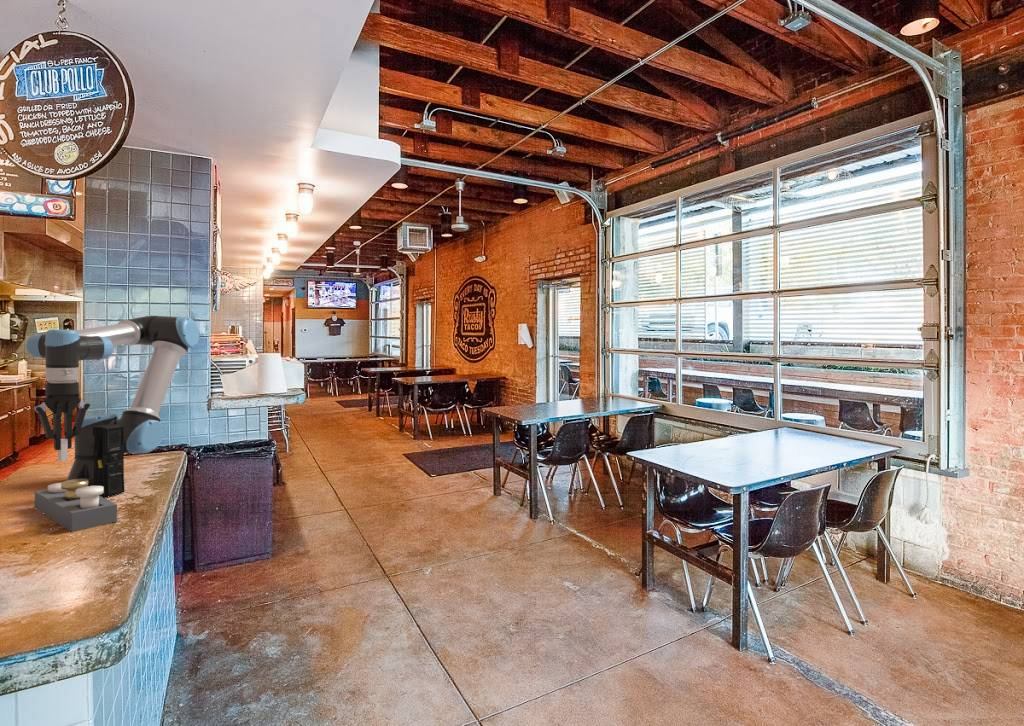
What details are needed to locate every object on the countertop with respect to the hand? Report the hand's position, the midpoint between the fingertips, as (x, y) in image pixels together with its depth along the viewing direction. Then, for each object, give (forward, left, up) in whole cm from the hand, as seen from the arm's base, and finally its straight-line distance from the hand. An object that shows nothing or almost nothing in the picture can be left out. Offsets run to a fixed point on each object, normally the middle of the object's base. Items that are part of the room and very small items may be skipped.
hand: (62, 460), depth 157 cm
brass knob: (0, +11, -11) cm, 15 cm away
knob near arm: (0, 0, -14) cm, 14 cm away
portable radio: (-13, -4, -14) cm, 19 cm away
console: (0, +11, -14) cm, 18 cm away
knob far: (0, +22, -11) cm, 25 cm away
